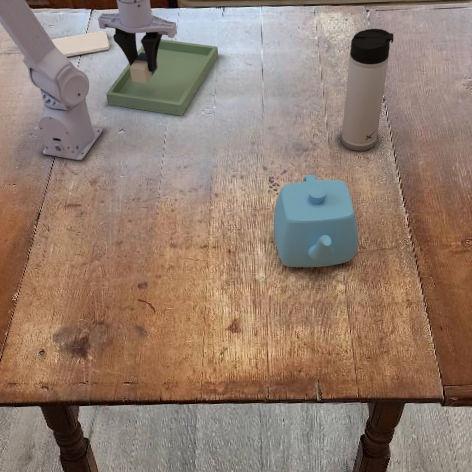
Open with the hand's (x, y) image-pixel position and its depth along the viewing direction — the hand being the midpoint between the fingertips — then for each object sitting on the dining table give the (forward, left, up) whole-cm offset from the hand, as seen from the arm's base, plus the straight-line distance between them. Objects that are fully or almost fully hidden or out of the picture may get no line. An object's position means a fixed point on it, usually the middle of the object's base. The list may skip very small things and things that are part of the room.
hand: (144, 67), depth 129 cm
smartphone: (+14, +23, -7) cm, 28 cm away
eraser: (0, 0, -1) cm, 1 cm away
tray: (+7, -1, -6) cm, 10 cm away
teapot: (-33, -42, -7) cm, 54 cm away
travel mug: (-3, -43, -7) cm, 43 cm away
